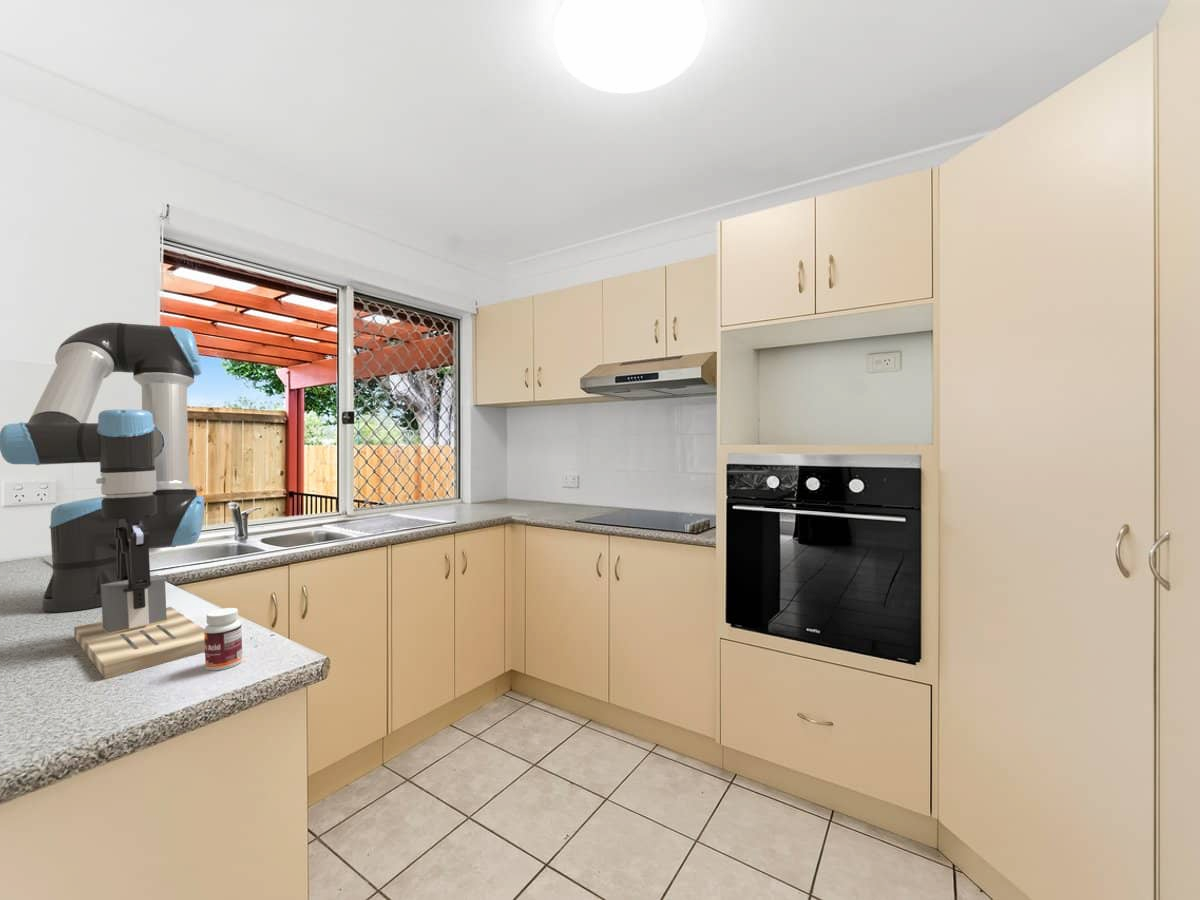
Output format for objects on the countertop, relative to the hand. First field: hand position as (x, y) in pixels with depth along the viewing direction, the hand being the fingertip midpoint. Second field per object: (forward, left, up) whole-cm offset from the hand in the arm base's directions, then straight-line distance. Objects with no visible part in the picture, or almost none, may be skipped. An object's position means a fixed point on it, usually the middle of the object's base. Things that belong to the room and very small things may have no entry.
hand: (135, 622), depth 97 cm
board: (+4, +3, -3) cm, 6 cm away
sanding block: (0, 0, -1) cm, 1 cm away
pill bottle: (+20, +21, -3) cm, 29 cm away
